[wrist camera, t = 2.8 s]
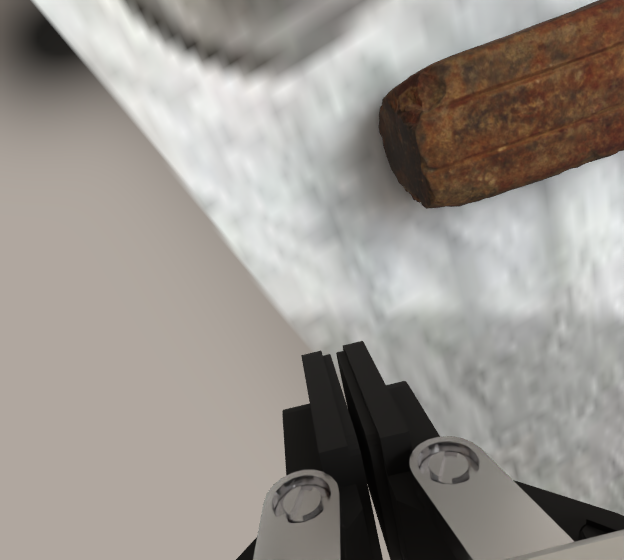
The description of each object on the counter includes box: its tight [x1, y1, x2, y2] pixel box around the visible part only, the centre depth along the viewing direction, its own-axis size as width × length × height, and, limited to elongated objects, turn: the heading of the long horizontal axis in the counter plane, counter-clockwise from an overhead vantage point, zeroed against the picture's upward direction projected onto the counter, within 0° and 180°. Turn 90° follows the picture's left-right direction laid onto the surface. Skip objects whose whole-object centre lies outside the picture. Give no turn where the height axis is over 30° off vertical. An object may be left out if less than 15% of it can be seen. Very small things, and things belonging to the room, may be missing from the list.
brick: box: [379, 0, 624, 208], centre depth 15 cm, size 11×4×5 cm
